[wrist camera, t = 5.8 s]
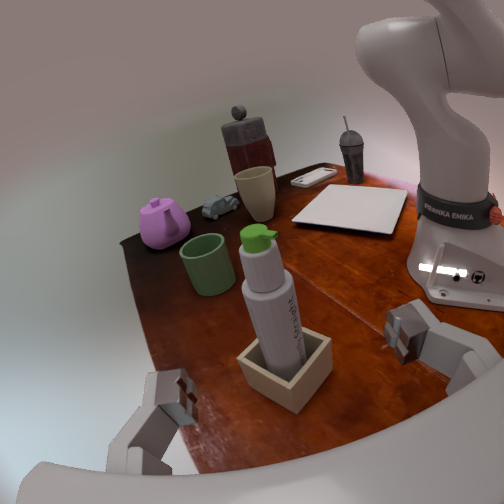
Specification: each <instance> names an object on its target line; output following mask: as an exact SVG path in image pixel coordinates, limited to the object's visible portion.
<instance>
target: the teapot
mask: <svg viewBox="0 0 504 504" xmlns="http://www.w3.org/2000/svg"><path fill="white" fill-rule="evenodd" d="M139 224H140V225H139V227H140V234H141V237H142V240H143V242H144V243H145V244H146V245H147V246H149V247H151V248H153V249H165V248H167V247H169V246H171V245H173V244H175V243H177V242H179V241H180V240H182V239H184V238H185V237H186V236H188V234H189V232H190V228H191V224H190V221H189V218H188V217H187V215H186V213H185V212H184V211H183V209H182V208H181V207H180V206H179V205H178V204H177V203H176V202H175V201H174V200H172V199H170V198H163V199H159V198H154V199H152V200H150V201H149V204H148V205H147V206H145V207H143V208H142V209H141V211H140V219H139Z"/></svg>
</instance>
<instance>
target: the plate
mask: <svg viewBox="0 0 504 504" xmlns="http://www.w3.org/2000/svg"><path fill="white" fill-rule="evenodd" d="M407 192H408V191H405V190H397V189H386V188H375V187H362V186H348V185H332V184H331V185H329V186H328V187H326V188H325V189H324V190H323V191H322V192H321V193H320V194H319V195H318V196H317V197H316V198H315V199H314V200H313V201H312V202H311V203H309V204H308V205H307V206H306V207H305V208H304V209H303V210H302V211H301V212H300V213H299V214H298V215H297V216H296V217H295V218H294V219H292V221H293V222H296V223H304V224H313V225H321V226H329V227H337V228H344V229H352V230H359V231H366V232H373V233H380V234H387V235H390V234H392V232H393V230H394V227H395V224H396V222H397V219H398V217H399V214H400V212H401V209H402V206H403V203H404V201H405V198H406V195H407Z"/></svg>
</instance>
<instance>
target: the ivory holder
mask: <svg viewBox="0 0 504 504" xmlns="http://www.w3.org/2000/svg"><path fill="white" fill-rule="evenodd" d="M301 327H302V326H301ZM302 333H303V339H304V345H305V352H306V358H307V362H306V363H305V365H304V366H303V367H302V368H301V369H300V371H299V372H298V373H297V374H296V375H295V377H294V378H293V379H292V380H291V381H290V382H287V381H285V380H283V379H281V378H279V377H278V376H276V375H274V374H272V373H270V372H269V370H268V367H267V364H266V361H265V358H264V355H263V352H262V349H261V346H260V343H259V341H258V338H257V339H256V340H255V341H254V342H253V343H252V344H251V345H250V346H249V347H247V348H246V349H245V350H244V351H243V352H242V353H241V354H240V355H239V356H238V357H237V360H238V363H239V365H240V367H241V369H242V371H243V373H244V375H245V378H246V380H247V382H248V384H249V386H250V387H252V388H253V389H255V390H256V391H258V392H260V393H261V394H263V395H264V396H266V397H268V398H269V399H271V400H273V401H274V402H276V403H278V404H279V405H281V406H283V407H284V408H286V409H288V410H290V411H291V412H293V413H295V414H298V413H299V412H300V411H301V409H302V408H303V407H304V406H305V404H306V403H307V402H308V401H309V400H310V398H311V397H312V396H313V394H314V393H315V392H316V391H317V389H318V388H319V387H320V385H321V384H322V383H323V382H324V380H325V379H326V378H327V376H328V375H329V374H330V372H331V371H332V369H333V368H332V343H331V338H329V337H326V336H324V335H321V334H319V333H316V332H314V331H311V330H309V329H307V328H304V327H302Z"/></svg>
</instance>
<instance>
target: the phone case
mask: <svg viewBox="0 0 504 504" xmlns="http://www.w3.org/2000/svg"><path fill="white" fill-rule="evenodd" d="M324 169H328V168H319V169H317V170H314V171H312V172H310V173H307V174H305V175H303V176H300V177H298V178H296V179H294V180H291V185H294V186H299V187H304V188H308V187H311V186H313V185H315V184H317V183H319V182H321V181H323V180H325V179H327V178H329V177H332V176H334V175H336V174H337V170H334V169H328V170H334V171H333V172H331V171H325V170H324ZM301 177H304V178H302V179H300V180H297V179H299V178H301ZM295 180H297V181H295ZM300 181H303V182H301V183H299V182H300Z"/></svg>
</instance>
